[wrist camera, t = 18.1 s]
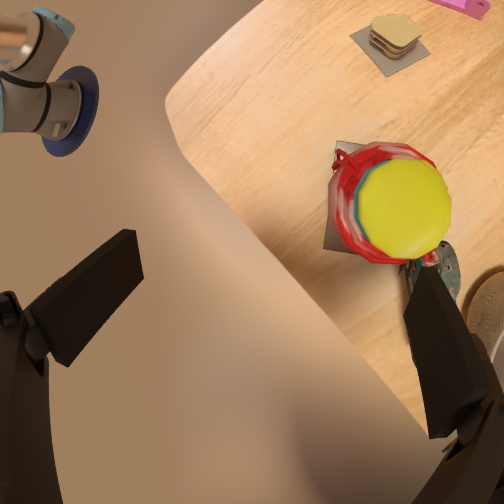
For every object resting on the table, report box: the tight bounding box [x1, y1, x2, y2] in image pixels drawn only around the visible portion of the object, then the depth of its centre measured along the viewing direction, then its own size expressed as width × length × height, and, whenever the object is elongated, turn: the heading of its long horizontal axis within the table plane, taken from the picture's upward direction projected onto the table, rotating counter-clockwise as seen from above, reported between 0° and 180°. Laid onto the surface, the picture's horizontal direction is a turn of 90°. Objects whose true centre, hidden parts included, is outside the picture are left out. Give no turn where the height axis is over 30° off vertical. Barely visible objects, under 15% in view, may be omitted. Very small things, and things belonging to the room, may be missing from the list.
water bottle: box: [328, 142, 451, 275], centre depth 22 cm, size 12×8×25 cm, turn 46°
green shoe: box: [404, 241, 460, 368], centre depth 30 cm, size 20×6×20 cm, turn 16°
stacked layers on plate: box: [350, 13, 430, 77], centre depth 29 cm, size 10×9×6 cm
